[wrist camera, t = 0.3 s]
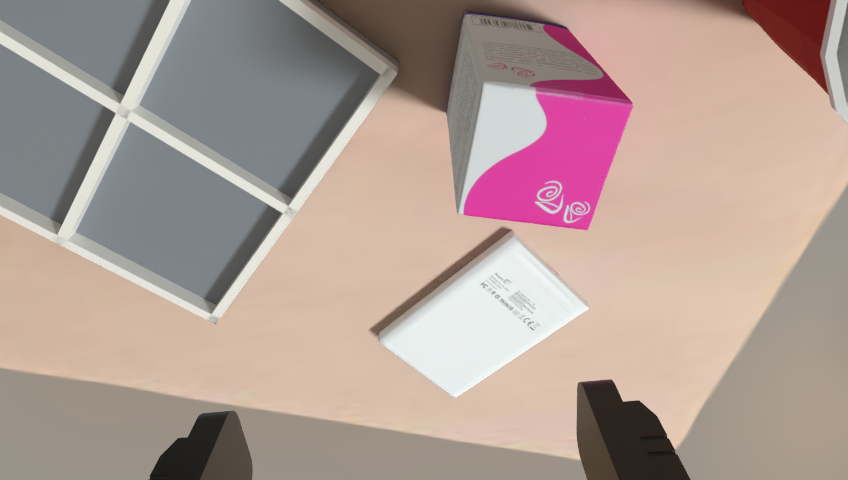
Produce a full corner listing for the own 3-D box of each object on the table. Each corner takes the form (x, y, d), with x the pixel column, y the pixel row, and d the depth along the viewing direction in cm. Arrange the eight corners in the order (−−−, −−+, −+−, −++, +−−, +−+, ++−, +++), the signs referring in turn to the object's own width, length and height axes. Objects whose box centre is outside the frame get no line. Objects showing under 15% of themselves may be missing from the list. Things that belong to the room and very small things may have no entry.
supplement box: (444, 117, 33) (451, 217, 23) (463, 8, 30) (480, 70, 20) (543, 131, 33) (590, 235, 23) (572, 26, 30) (640, 95, 20)
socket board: (0, -237, 25) (-32, -245, 23) (399, 62, 31) (397, 73, 29) (-103, 134, 33) (-131, 148, 32) (224, 305, 40) (215, 324, 38)
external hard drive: (379, 326, 42) (511, 224, 37) (455, 383, 45) (585, 296, 40) (377, 341, 40) (514, 238, 36) (456, 399, 44) (591, 311, 39)
